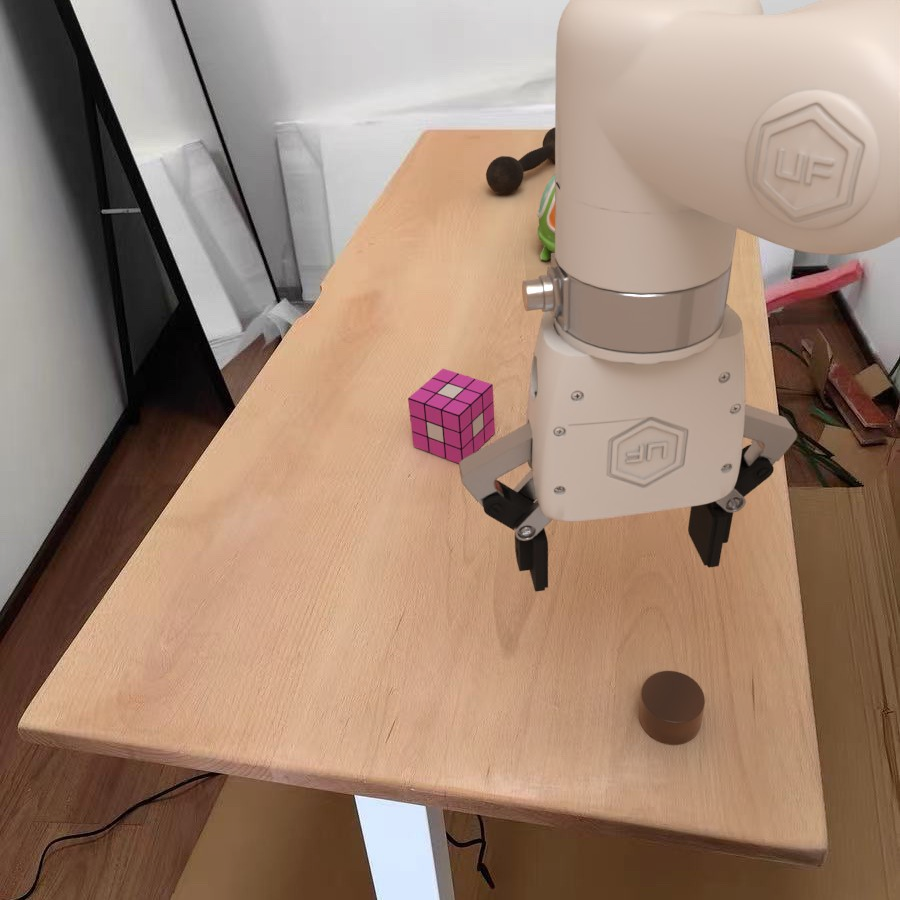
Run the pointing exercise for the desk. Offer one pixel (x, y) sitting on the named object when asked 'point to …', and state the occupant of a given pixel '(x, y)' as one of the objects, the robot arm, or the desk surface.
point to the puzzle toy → (452, 415)
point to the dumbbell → (518, 166)
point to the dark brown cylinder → (671, 707)
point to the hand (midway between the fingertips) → (619, 561)
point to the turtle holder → (547, 220)
